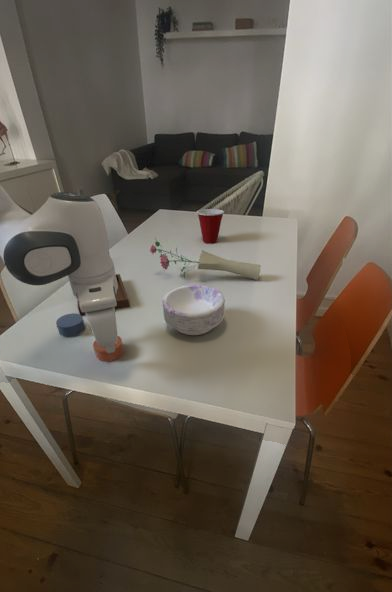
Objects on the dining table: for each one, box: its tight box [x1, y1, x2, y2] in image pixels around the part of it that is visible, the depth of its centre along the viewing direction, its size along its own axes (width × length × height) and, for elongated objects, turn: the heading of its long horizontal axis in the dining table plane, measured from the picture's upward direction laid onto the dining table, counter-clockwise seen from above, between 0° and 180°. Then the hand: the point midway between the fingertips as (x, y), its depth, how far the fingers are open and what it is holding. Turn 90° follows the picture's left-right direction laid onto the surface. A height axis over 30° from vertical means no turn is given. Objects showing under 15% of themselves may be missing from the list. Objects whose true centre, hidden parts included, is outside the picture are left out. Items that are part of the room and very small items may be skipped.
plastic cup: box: [196, 208, 225, 245], centre depth 127 cm, size 11×11×12 cm
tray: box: [76, 273, 131, 317], centre depth 94 cm, size 18×14×3 cm
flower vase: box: [149, 237, 262, 281], centre depth 102 cm, size 12×12×35 cm
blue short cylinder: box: [55, 312, 86, 338], centre depth 80 cm, size 6×6×3 cm
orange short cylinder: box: [92, 335, 125, 362], centre depth 73 cm, size 6×6×3 cm
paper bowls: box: [162, 284, 226, 336], centre depth 80 cm, size 15×15×8 cm
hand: (108, 338), depth 71 cm, fingers open, 8 cm apart
